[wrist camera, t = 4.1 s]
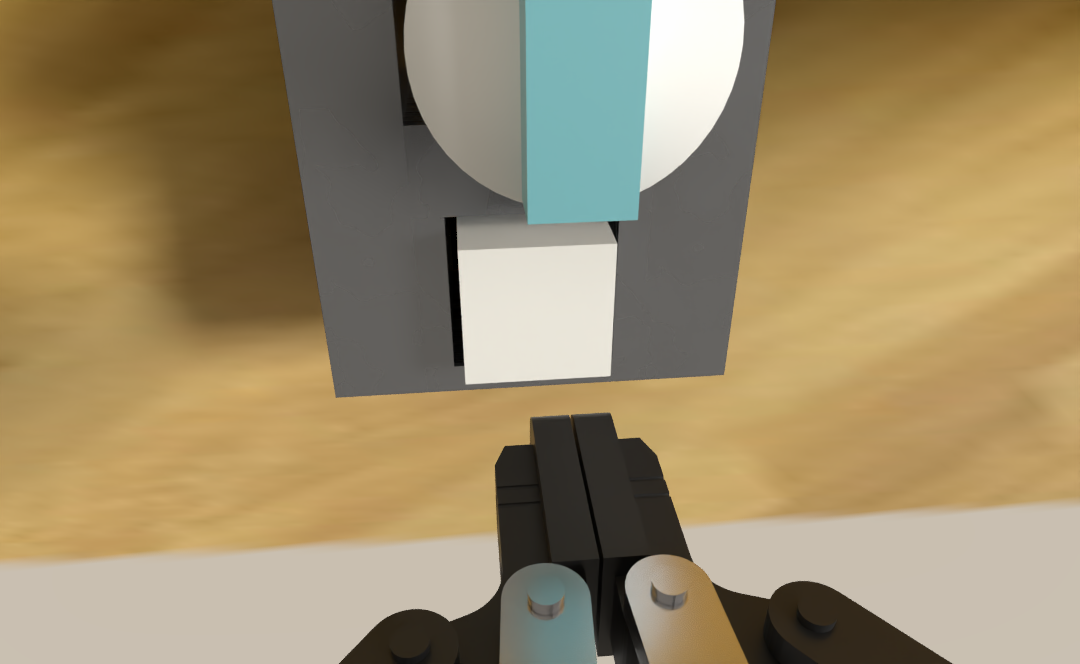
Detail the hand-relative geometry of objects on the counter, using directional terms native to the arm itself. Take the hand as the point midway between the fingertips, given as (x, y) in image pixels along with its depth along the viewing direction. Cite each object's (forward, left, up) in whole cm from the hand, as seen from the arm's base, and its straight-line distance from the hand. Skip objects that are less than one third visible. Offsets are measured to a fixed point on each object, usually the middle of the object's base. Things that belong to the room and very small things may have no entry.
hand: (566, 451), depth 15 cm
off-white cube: (0, 0, -11) cm, 11 cm away
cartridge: (-7, 0, -13) cm, 15 cm away
